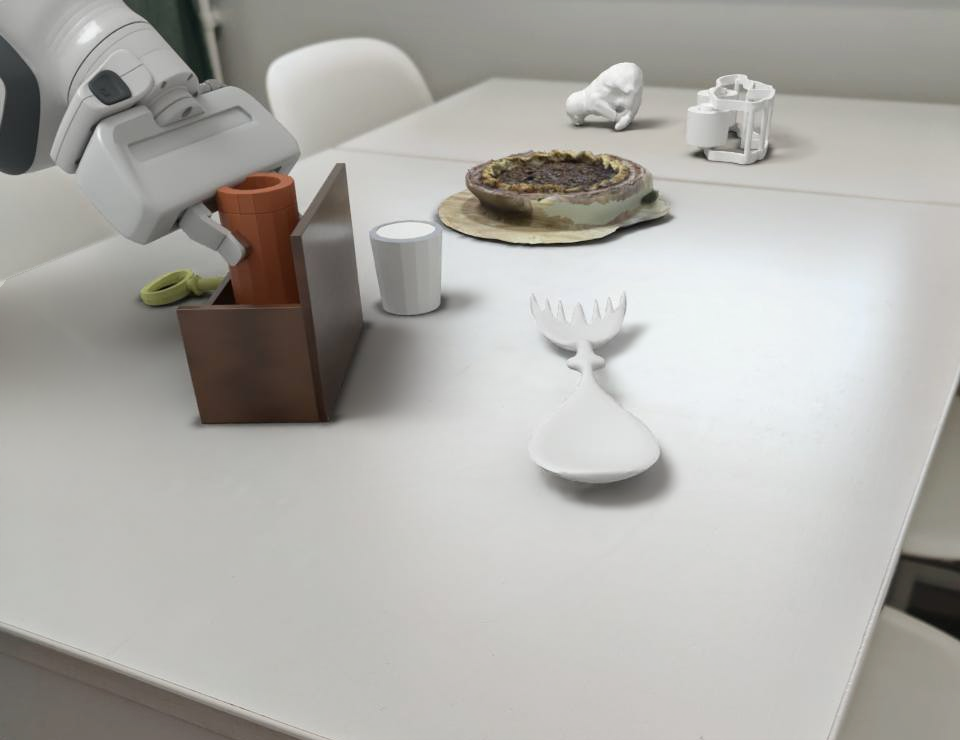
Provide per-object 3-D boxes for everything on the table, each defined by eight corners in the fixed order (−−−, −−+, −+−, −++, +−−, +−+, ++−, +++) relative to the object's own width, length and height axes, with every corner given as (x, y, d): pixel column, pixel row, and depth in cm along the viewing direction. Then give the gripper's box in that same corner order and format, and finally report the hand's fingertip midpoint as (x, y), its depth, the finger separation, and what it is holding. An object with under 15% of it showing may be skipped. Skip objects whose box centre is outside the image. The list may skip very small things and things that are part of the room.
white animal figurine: (637, 65, 145) (557, 72, 149) (639, 130, 150) (562, 135, 154) (646, 57, 149) (568, 65, 153) (647, 120, 154) (572, 126, 158)
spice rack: (201, 423, 78) (159, 238, 69) (257, 326, 94) (229, 165, 85) (327, 421, 78) (301, 235, 69) (363, 324, 93) (345, 162, 84)
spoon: (626, 323, 91) (628, 285, 89) (665, 505, 66) (670, 458, 64) (527, 326, 91) (527, 288, 89) (529, 507, 66) (528, 460, 64)
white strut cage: (697, 129, 150) (702, 73, 146) (773, 131, 147) (780, 74, 143) (679, 162, 135) (684, 101, 131) (763, 165, 133) (771, 103, 128)
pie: (532, 262, 105) (532, 212, 102) (394, 208, 123) (390, 164, 120) (719, 209, 118) (724, 163, 115) (569, 167, 135) (569, 127, 132)
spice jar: (230, 325, 81) (205, 194, 74) (247, 299, 85) (224, 173, 79) (304, 324, 80) (284, 192, 74) (317, 297, 85) (300, 171, 79)
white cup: (362, 304, 97) (353, 230, 93) (418, 287, 101) (412, 214, 96) (404, 323, 93) (397, 246, 89) (461, 304, 96) (457, 229, 92)
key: (263, 298, 100) (259, 276, 98) (138, 308, 99) (132, 286, 98) (267, 274, 105) (264, 254, 104) (149, 284, 104) (144, 263, 103)
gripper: (206, 105, 86) (320, 232, 88) (33, 163, 72) (175, 313, 74) (239, 46, 82) (357, 181, 84) (61, 95, 67) (211, 257, 70)
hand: (271, 244), depth 79 cm, fingers closed on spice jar, 6 cm apart
